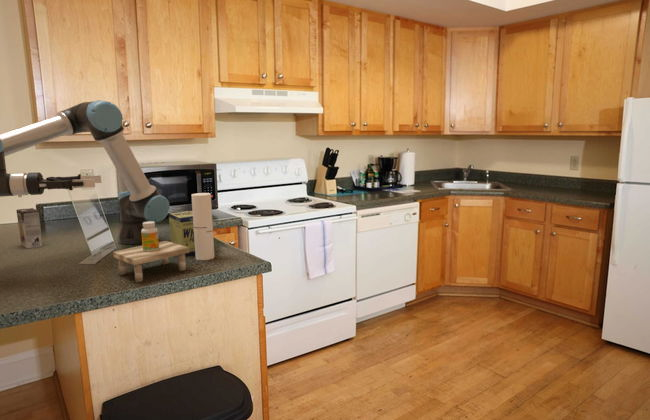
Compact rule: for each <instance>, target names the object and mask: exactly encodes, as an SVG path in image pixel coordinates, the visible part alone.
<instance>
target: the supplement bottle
mask: <svg viewBox="0 0 650 420" xmlns="http://www.w3.org/2000/svg"><path fill="white" fill-rule="evenodd" d="M155 226H156V222H153V221H148V222H143V227H144V229H142V230H141V235H142V243H141V246H143V250H144V251H155V250H158V249H159V242H160V241H159V229H158V228H157V227H155Z"/></svg>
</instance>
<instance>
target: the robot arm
mask: <svg viewBox="0 0 650 420" xmlns="http://www.w3.org/2000/svg"><path fill="white" fill-rule="evenodd" d="M123 120H124V117H123V114H122V112H121V110H120V108H119V107H118V106H117V105H116V104H114V103H113V102H111V101H108V100H107V101H106V100H101V99H100V100H93V101H83V102H80V103H78V104H76V105H73V106H71V107H69V108H66V109H63V110H61V111H58V112H56V115H55V116H54V115H53V116H51V117H48V118H45V119H43V120H38V121H37V122H33V123H31V124H27V125H24V126H21V127H18V128H16V129H13V130H9V131H5V132H3V133H0V197H1V198H2V197H14V196H15V197H16V196H18V198H22V196H28V195H30V196H38V195H39V196H40V195H43V194H44V192H45V190H63V189H64V190H68V191H74V189H81V188H82V189H84V188H96V184H100V183H101V184H102V176H101V174H99V175H81V173H79V174H77V175H75V176H73V175H72V176H48V177H46V178H44V176H43V174H42V173H41V172H28V173H27V172H11V173H7V166H6V158H5V157H6V156H10V155H12V154H14V153H17V152H20V151H23V150H26V149H29V148H32V147H34V146H37V145H40V144H43V143H46V142H48V141H51V140H53V139H54V140H55V139H57V138H60V137H62V136H66V135H67V136H69V137H71V136H72V135H73V136H74V135H76V134H81V133H90V134H91V136H92V137H93V140H94V141H95V142H97V143H100V144H101V145H102V147H103V149H104V150H105V151H106V153H107V155H108V157H109V159H110V160H111V162H112V165H113V166H114V168H115V169H116V170H117V173H118V175H119V176H120V178H121V180H122V181H123V182H124V185H125V186H126V188H127V190H128V191H127V190H126V191H121V192H119V193H118V199H117V201H118V208H119V209H118V210H119V218H120V227H119V231H118V237H117V241H118V244H121V245H137V244H138V245H139V244H142V235H141V230H142V229H144V227H143V222H148V221H153V222H155V223H159V222H161V221H163V220H164V219H165V218H166V217H167V216H168V215H169V211H170V202H169V200H168V198H166V197H165V196H164V195H161V193H159V191H158V189H157V186H155V185H152V184H150V182H149V179H148V178H147V177H146V175H145V172H143V170H142V167H141V166H140V164H139V161H138V159H137V158H136V156H135V154H134V153H133V151H132V149H131V147H130V146H129V143H128V142H127V140H126V137H125V136H124V131H125V128H124V126H123Z"/></svg>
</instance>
